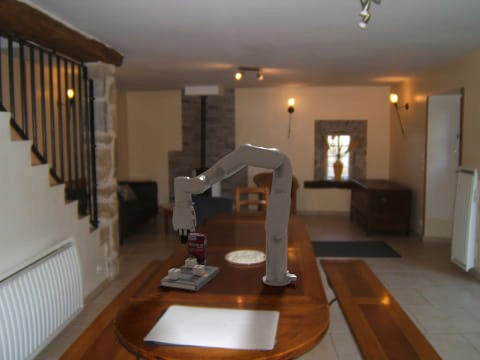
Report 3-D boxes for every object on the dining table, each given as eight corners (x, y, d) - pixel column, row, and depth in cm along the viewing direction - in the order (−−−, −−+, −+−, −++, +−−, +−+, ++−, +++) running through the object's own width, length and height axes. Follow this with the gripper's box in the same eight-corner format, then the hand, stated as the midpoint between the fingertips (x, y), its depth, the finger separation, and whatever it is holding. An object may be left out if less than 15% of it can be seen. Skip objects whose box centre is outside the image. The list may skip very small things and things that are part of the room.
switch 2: (196, 265, 200) (196, 257, 199) (192, 268, 196) (192, 260, 196) (189, 264, 201) (189, 257, 201) (185, 267, 198) (185, 259, 197)
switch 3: (204, 272, 190) (204, 264, 189) (200, 275, 186) (200, 267, 186) (196, 271, 191) (196, 264, 191) (193, 274, 187) (192, 266, 187)
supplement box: (188, 265, 209) (187, 235, 207) (191, 262, 213) (190, 232, 211) (204, 266, 207) (203, 235, 205) (207, 263, 212) (206, 233, 210)
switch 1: (180, 276, 185) (180, 268, 185) (176, 279, 181) (176, 271, 181) (173, 275, 186) (172, 267, 186) (168, 278, 183) (168, 270, 182)
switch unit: (219, 272, 198) (219, 267, 198) (196, 291, 176) (196, 285, 176) (186, 268, 205) (185, 263, 204) (160, 285, 182) (160, 280, 182)
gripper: (201, 203, 188) (203, 242, 190) (173, 201, 193) (174, 239, 195) (194, 206, 181) (195, 246, 183) (164, 204, 186) (166, 244, 188)
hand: (184, 243), depth 189 cm, fingers closed
